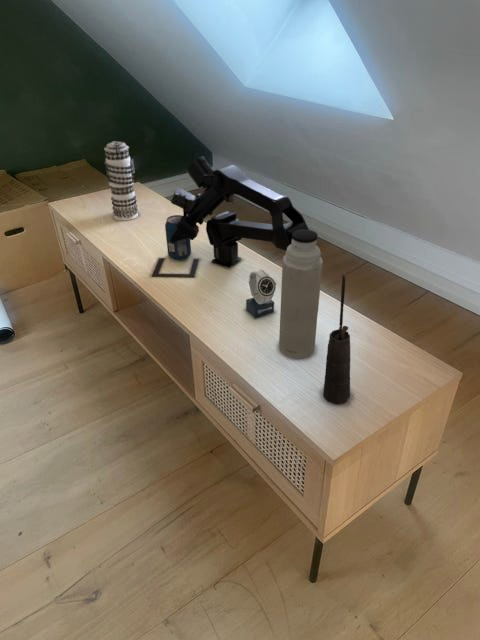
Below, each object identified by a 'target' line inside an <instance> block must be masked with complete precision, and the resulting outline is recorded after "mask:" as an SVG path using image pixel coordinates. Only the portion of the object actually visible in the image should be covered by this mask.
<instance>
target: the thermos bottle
mask: <svg viewBox="0 0 480 640" xmlns="http://www.w3.org/2000/svg"><path fill="white" fill-rule="evenodd" d="M292 238H293V239H292V242H291V245H289V246H288V247H287V251H285V255H284V256H283V257H282V266H281V267H282V270H281V291H280V314H279V315H280V316H279V337H278V350H279V351H280V353H281V354H282V355H283V356H285V357H287V358H289V359H293V360H294V359H295V360H302V359H307V358H309V357H311V356H312V355H313V354H314V352H315V348H316V337H317V336H316V335H317V325H318V315H319V305H320V297H321V296H320V294H321V284H322V274H323V273H322V272H323V264H324V263H323V262H324V260H323V258H322V257H321V255H322V252H321V249H320V248H319V246H317V240H318V233H317V232H316V231H315V230H312V229H309V230H307V229H301V230H296V231H294V232H293V233H292Z"/></svg>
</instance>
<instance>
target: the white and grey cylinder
mask: <svg viewBox="0 0 480 640" xmlns="http://www.w3.org/2000/svg"><path fill="white" fill-rule="evenodd" d="M129 149H130V146H128V145H127V144H126V142H124V141H119V140H116V141H111V142H108V143H107V144H106V146H105V147H104V148H103V150H104V154H105V160H104V162H103V164H104V166H105V167H104V169H105V170H106V173H105V174H106V175H107V177H106V178H107V180H108V181H107V182H108V185H109V187H110V191H111V192H110V196H111V197H110V200H111V205H112V207H111V208H112V210H113V211H112V213H113V218H114V219H116V220H118V221H130V220H131V221H132V220H134V219H136V218H138V216H139V213H138V212H139V209H138V205H137V202H138V201H137V199H136V198H137V195H136V191H135V189H134V184H135V183H134V182H135V179H134V177H135V175H134V174H132V173H134V169H133V168H134V165H133V164H131V161H132V158H131V156H130V152H129Z"/></svg>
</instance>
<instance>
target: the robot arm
mask: <svg viewBox="0 0 480 640" xmlns="http://www.w3.org/2000/svg"><path fill="white" fill-rule="evenodd" d="M186 173H187V174H188V176H189V177H190V179H191V181H193V183H194V184H195V185H196V187H197V188H198V189H201V188H202V189H204V190H203V191H202V192H200V193H197V194H196V195H194V194H192V193H191V192H189V191H186V190H185V189H182V188H180V187H177V188H175V191H174V192H173V195H172V197H171V200H170V203H171V204H172V205H174V206H177V207H180V208H182V213H183V215H182V217H181V218H180V219H179V220H178V221H177V223H176V227H177V230H176V231H175V233H174V234H173V236H172V237H171V239H170V241H171V242H172V243H173V242H176V241H180V240H183V239H187V238H189V239H190V241H194V240H195V239H196V238H197V237H198V235H199V232H200V227H199V226H198V224H199V225H200V226H202V225H203V224H204V222H205V220H206V219H207V218H208V217H209V216H212V215H213V214H214V211H215V210H216V209H217V208H218V207H219V206H221V204H222V203H224V201H225V202H226V203H234V201H235V200H234V195H237V196H238V197H239V196H240V197H241V198H243V199H244V200H247V201H249V202H251V203H252V204H255V205H257V206H258V207H260V208H262V209H264V210H266V211H268V212H269V214H270V216H271V223H263V222H256V221H248V220H240V219H239V218H238V217H237V212H230V211H228V210H227V211H224V212H222V213H219V214H217V215H214V216H212V217H211V219H208V220H207V221H206V225H205V226H206V227H205V231H206V235H207V238H208V241H209V245H210V246H212V247H213V259H212V260H211V263H212V264H216V265H219V266H222V267H225V268H231V267H233V266H234V265H236V264H237V263H239V262H240V261H242V258H241V257H239V241H242V240H243V239H246V240H253V241H260V242H266V243H271V244H272V245H273V246H274V247H275V248H277V249H278V250H281V251H284V252H286V251H287V247H288V246H289V245H291V242H292V239H293V238H292V233H293V232H294V231H296V230H301V229H307V230H310V229H309V227H308V224H307V222H306V220H305V217H304V216H303V215H302V214H301V213H300V211H298V210H297V209H296V208H295V207H294V205H293V203H292V201H291V199H290V198H289V197H288V196H287V195H282V194H280V193H277V192H275V191H273V190H272V189H270V188H268V187H266V186H264V185H261V184H259V183H257V182H255V181H254V180H251V179H250V178H249V177H247V176H246V174H245V172H244V171H243V170H242V169H240V168H239V167H238V166H236V165H234V164H229V165H227V166H223V167H220V168H217V169H215V170H213V168H212V167H211V165H210V164H209V163H208V162H207V159H206V157H204V156H199V157H197V158H196V160H194V161H193V162H192V163H190V164H189V165H188V166H187V167H186ZM284 215H285V216H286V217H287V218H288V219H289V220H290V221H291V222H287V223H284ZM197 223H198V224H197Z"/></svg>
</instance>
